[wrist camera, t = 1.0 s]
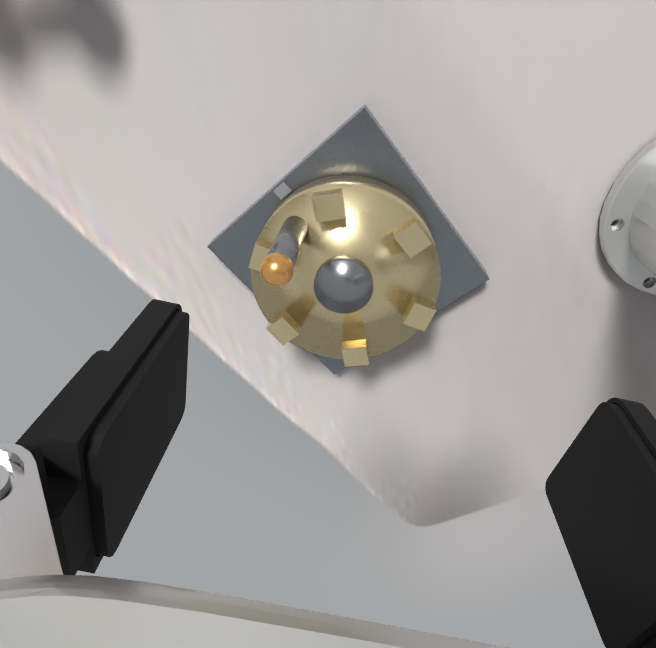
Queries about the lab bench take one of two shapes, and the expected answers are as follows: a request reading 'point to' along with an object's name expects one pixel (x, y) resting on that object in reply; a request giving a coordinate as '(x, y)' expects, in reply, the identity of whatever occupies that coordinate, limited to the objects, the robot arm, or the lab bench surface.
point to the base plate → (367, 161)
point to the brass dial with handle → (346, 269)
